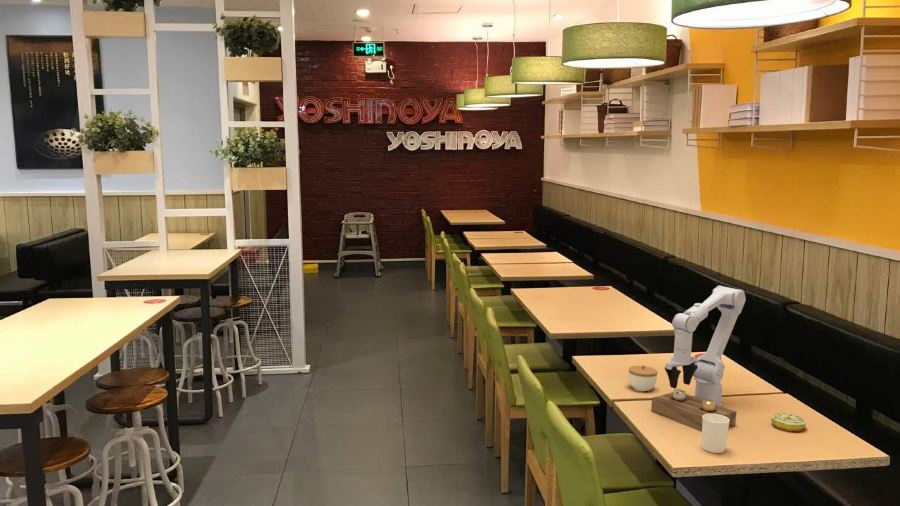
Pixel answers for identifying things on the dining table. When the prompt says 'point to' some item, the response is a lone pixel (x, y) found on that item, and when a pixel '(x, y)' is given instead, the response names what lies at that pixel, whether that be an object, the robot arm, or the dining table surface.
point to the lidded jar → (642, 377)
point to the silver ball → (679, 395)
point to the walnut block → (687, 410)
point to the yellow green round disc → (788, 422)
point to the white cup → (714, 432)
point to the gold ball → (708, 406)
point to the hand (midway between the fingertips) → (679, 385)
